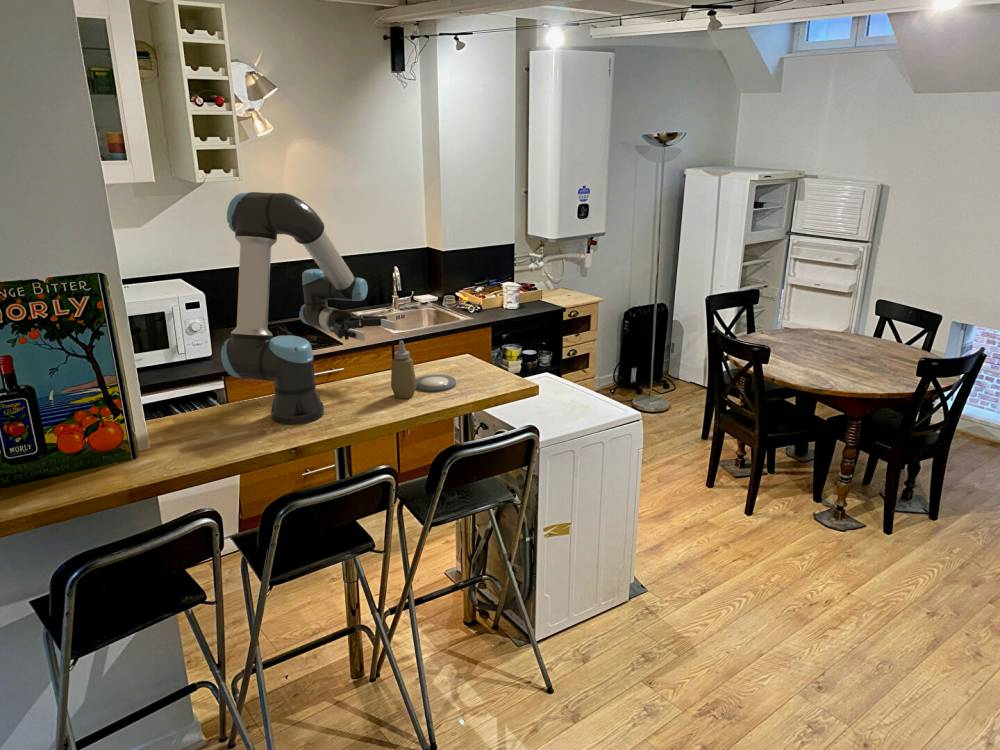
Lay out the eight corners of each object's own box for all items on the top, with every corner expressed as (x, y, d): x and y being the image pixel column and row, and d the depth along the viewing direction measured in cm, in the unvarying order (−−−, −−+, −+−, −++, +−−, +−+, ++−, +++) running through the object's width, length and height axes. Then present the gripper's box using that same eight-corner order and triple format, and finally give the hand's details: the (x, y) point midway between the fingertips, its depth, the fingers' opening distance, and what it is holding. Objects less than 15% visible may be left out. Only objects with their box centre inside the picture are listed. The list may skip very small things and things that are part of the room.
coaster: (405, 388, 245) (405, 385, 245) (426, 375, 257) (426, 372, 257) (444, 394, 240) (443, 390, 239) (463, 380, 252) (463, 377, 251)
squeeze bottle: (418, 391, 242) (416, 337, 236) (415, 400, 235) (412, 344, 229) (393, 391, 242) (390, 337, 237) (389, 400, 235) (385, 345, 229)
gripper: (365, 322, 262) (408, 333, 249) (307, 340, 243) (351, 352, 231) (363, 301, 259) (407, 311, 247) (304, 318, 241) (348, 329, 228)
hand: (380, 331), depth 239 cm, fingers open, 13 cm apart
